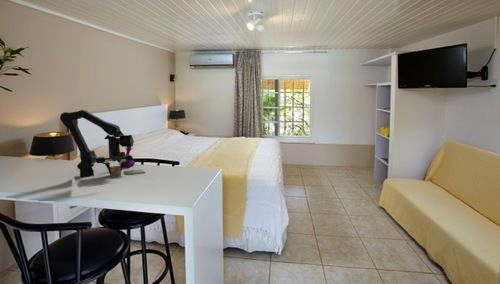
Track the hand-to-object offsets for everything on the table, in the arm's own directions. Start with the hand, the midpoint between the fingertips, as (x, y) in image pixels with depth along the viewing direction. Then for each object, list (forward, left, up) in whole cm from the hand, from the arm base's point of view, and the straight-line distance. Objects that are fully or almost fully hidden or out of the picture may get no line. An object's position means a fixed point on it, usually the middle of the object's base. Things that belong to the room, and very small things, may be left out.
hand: (115, 173), depth 170 cm
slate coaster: (+11, +2, -1) cm, 11 cm away
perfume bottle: (+11, +21, -1) cm, 24 cm away
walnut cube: (0, 0, -1) cm, 1 cm away
